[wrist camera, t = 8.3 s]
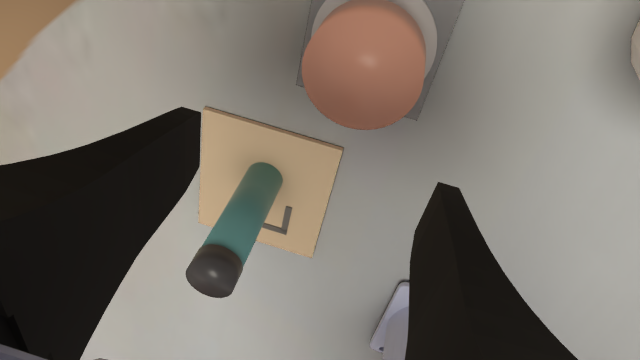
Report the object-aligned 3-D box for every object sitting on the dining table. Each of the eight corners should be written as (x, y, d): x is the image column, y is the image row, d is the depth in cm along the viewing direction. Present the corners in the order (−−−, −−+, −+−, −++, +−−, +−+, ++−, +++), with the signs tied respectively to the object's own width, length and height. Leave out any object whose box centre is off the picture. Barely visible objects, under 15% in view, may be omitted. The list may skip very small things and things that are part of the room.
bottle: (286, 168, 26) (235, 272, 20) (280, 197, 27) (231, 303, 21) (248, 156, 26) (185, 257, 20) (244, 186, 27) (185, 288, 21)
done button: (443, 16, 17) (443, 34, 15) (404, 119, 20) (401, 143, 18) (326, -18, 17) (313, -3, 16) (304, 89, 20) (292, 110, 18)
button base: (467, -16, 18) (468, -7, 17) (417, 108, 22) (416, 123, 21) (327, -55, 19) (319, -48, 18) (302, 74, 23) (294, 87, 21)
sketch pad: (343, 147, 25) (342, 151, 24) (312, 254, 30) (311, 259, 30) (205, 106, 25) (202, 109, 25) (200, 219, 31) (197, 223, 30)
